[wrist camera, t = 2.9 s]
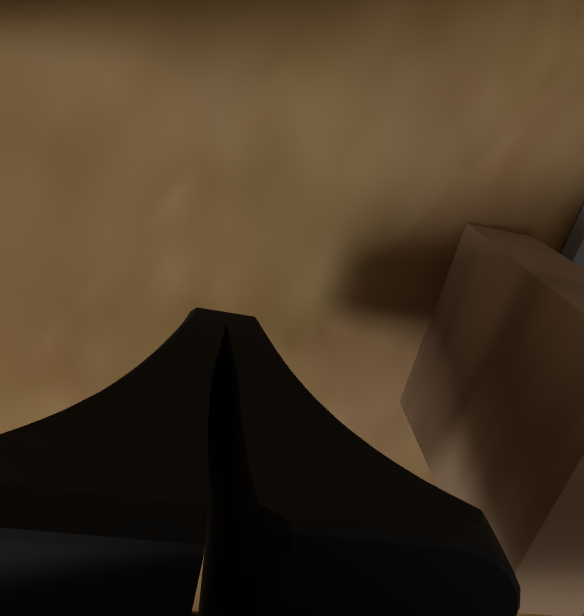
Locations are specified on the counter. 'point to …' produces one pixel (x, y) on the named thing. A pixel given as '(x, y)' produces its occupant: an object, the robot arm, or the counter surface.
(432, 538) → the robot arm
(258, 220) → the counter surface
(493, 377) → the slab
